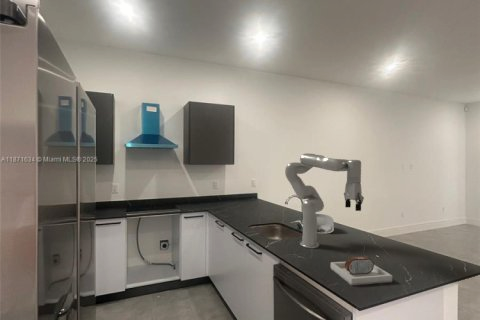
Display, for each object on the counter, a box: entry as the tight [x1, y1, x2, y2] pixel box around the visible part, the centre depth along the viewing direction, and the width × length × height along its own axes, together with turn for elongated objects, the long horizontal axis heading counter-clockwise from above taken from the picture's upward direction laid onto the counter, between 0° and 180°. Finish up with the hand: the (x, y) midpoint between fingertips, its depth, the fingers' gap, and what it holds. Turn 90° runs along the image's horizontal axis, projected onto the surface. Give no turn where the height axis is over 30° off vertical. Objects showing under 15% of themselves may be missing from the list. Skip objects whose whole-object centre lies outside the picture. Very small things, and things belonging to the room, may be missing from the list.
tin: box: [345, 256, 375, 274], centre depth 124 cm, size 15×3×8 cm, turn 99°
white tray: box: [330, 261, 393, 286], centre depth 124 cm, size 18×22×3 cm
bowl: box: [316, 213, 335, 234], centre depth 204 cm, size 20×19×12 cm
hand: (352, 208), depth 144 cm, fingers open, 9 cm apart
